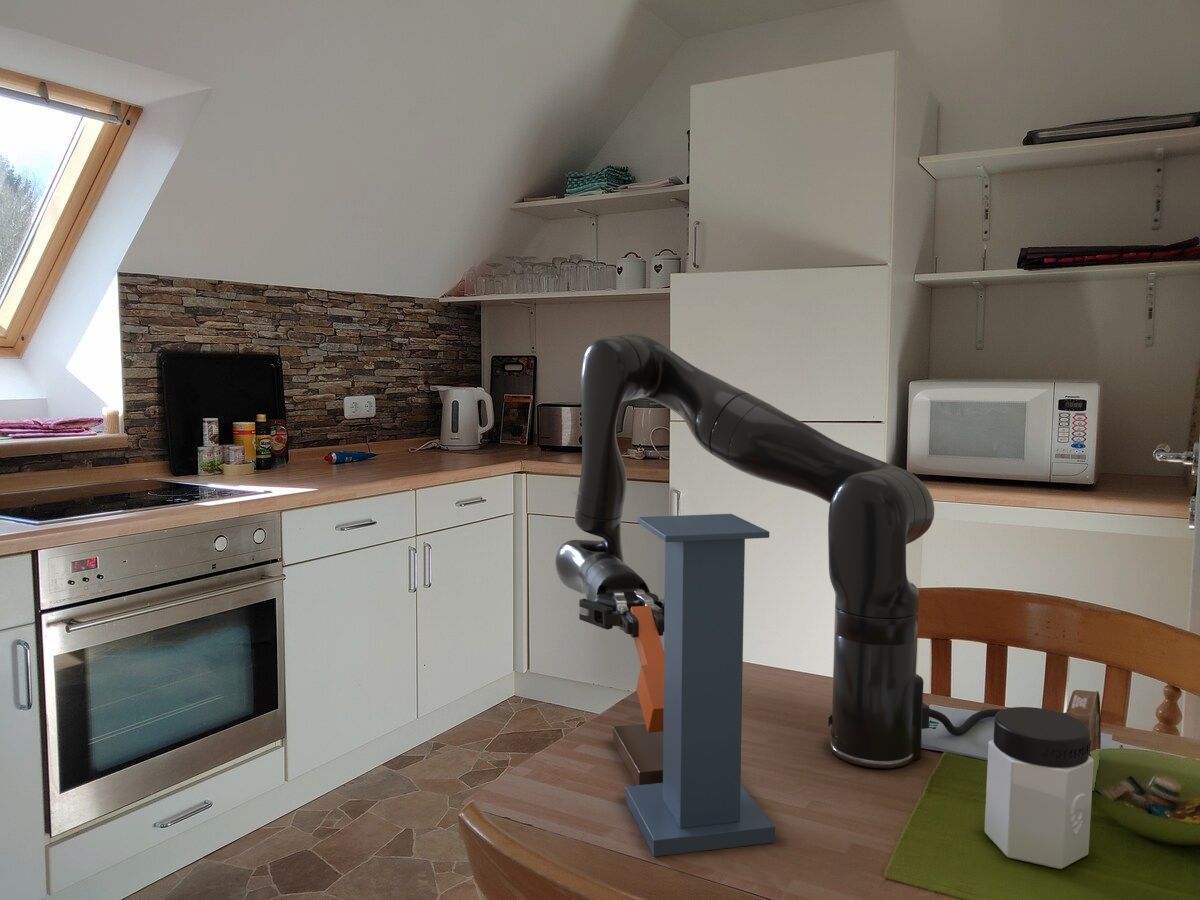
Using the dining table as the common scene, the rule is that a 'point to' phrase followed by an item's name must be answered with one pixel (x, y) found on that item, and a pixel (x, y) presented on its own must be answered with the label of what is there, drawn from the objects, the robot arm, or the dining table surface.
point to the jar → (1039, 786)
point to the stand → (701, 692)
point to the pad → (640, 752)
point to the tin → (1087, 714)
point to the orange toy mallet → (650, 669)
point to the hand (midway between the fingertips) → (648, 628)
